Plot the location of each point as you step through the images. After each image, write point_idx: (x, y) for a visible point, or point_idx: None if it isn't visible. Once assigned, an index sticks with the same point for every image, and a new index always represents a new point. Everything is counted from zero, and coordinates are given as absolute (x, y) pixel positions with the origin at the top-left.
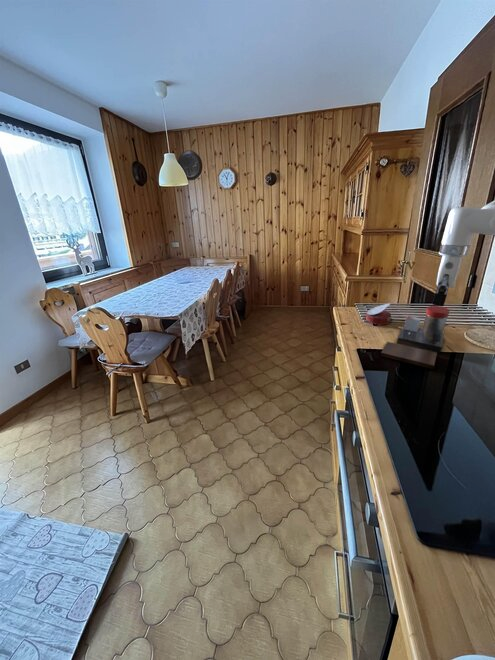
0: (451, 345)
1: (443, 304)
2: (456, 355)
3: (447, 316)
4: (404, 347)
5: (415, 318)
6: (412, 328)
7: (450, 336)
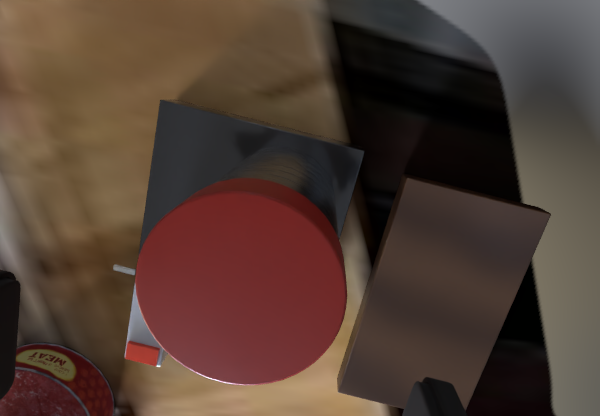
0: (250, 67)
1: (454, 401)
2: (366, 64)
3: (295, 193)
4: (384, 324)
5: None
6: None
7: (129, 49)
